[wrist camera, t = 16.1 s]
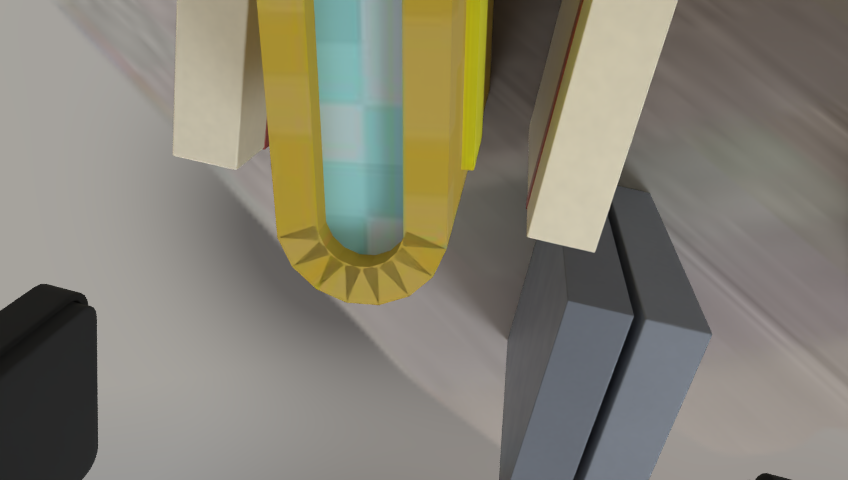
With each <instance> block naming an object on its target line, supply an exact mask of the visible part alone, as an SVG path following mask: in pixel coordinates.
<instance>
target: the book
mask: <svg viewBox="0 0 848 480" xmlns="http://www.w3.org/2000/svg"><path fill="white" fill-rule="evenodd" d="M493 5H494V0H257V10H258V22H259V33H260V44H261V56H262V67H263V79H264V90H265V101H266V113H267V124H268V135H269V147H270V158H271V169H272V181H273V192H274V203H275V215H276V226H277V237H278V240H279V242H280V244H281V246H282V248H283V249H284V251H285V253H286V255H287V257H288V259H289V261H290V263H291V265H292V267H293V268H294V269H295V270H297V272H299V273H300V274H301V275H302V276H303V277H304V278H305V279H306V280H307V281H308V282H309V283H310V284H311V285H313V286H314V287H315V288H316V289H317V290H319V291H322V292H324V293H326V294H329V295H331V296H333V297H335V298H338V299H340V300H342V301H344V302H347V303H359V304H372V305H381V304H384V303H388V302H391V301H395V300H398V299H401V298H405V297H408V296H410V295H411V294H412V293H414V292H415V291H416V290H417V289H419V288H420V287H421V286H422V285H424V284H425V283H426V282H427V281H428V280H430V279H431V278H432V277H433V276H434V274H435V272H436V270H437V268H438V266H439V263H440V261H441V259H442V257H443V255H444V253H445V251H446V249H447V246H448V242H449V238H450V235H451V231H452V227H453V223H454V220H455V216H456V212H457V209H458V205H459V201H460V197H461V194H462V190H463V186H464V183H465V179H466V175H467V171H468V170H474V167H475V163H476V159H477V155H478V151H479V147H480V143H481V139H482V127H483V112H484V108H485V105H486V101H487V97H488V93H489V90H490V70H491V48H492V27H493Z"/></svg>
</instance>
